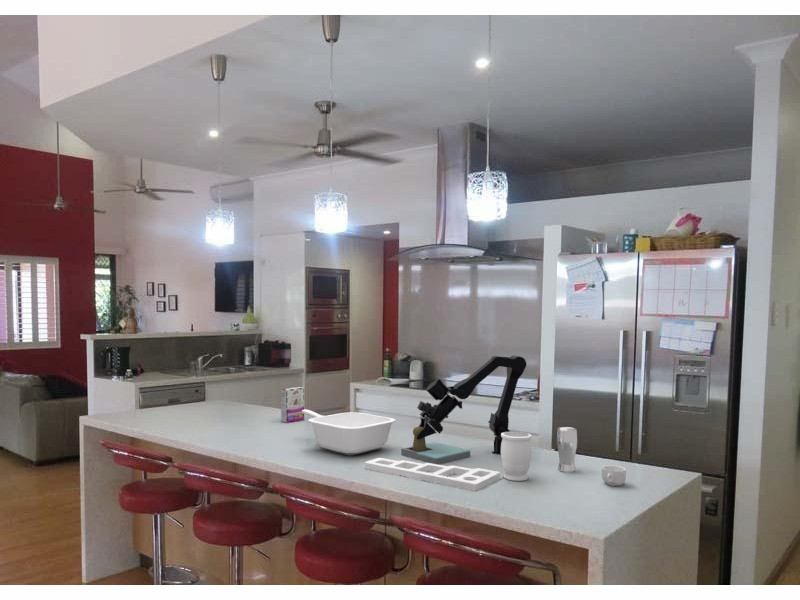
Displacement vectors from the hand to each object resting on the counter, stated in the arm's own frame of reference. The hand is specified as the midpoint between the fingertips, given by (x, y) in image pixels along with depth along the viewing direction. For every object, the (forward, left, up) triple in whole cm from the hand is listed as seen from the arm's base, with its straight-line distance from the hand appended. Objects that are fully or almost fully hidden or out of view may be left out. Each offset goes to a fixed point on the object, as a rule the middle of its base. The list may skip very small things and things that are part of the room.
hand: (416, 437), depth 246 cm
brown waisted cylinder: (-1, -1, -7) cm, 7 cm away
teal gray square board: (-5, -6, -7) cm, 10 cm away
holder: (-22, +14, -8) cm, 27 cm away
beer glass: (-51, -26, -7) cm, 58 cm away
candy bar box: (+90, -2, -7) cm, 91 cm away
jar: (-45, -4, -7) cm, 46 cm away
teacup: (-71, -22, -7) cm, 75 cm away
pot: (+32, +14, -7) cm, 35 cm away
